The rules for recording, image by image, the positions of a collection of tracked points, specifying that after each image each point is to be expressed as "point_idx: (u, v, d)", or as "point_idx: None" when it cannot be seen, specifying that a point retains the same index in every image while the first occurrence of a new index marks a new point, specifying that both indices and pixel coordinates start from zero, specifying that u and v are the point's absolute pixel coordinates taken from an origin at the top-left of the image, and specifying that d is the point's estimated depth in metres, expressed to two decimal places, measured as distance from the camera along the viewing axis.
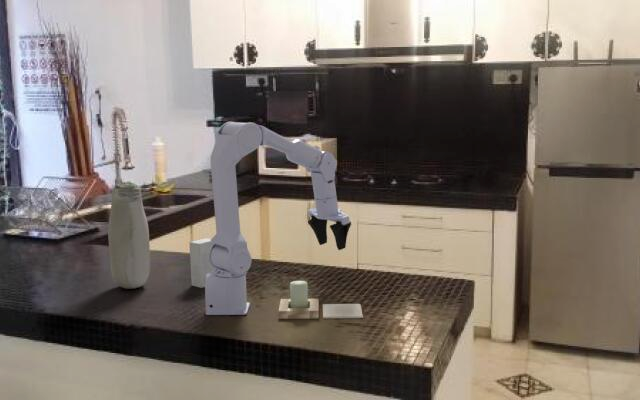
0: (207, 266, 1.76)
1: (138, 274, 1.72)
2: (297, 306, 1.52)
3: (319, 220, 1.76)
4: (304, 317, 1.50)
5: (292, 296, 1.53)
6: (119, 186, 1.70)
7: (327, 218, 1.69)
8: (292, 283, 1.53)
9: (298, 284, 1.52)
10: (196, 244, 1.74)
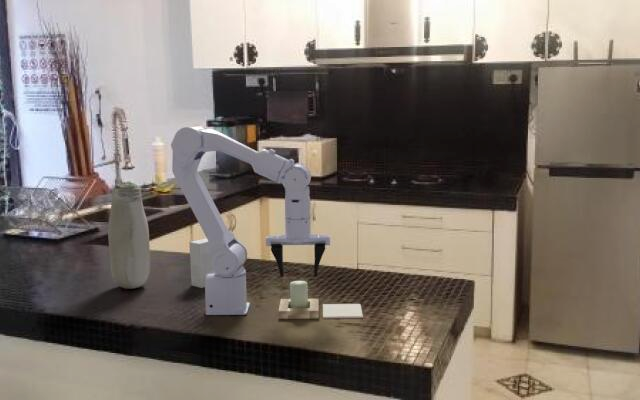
0: (207, 266, 1.76)
1: (138, 274, 1.72)
2: (297, 306, 1.52)
3: None
4: (304, 317, 1.50)
5: (292, 296, 1.53)
6: (119, 186, 1.70)
7: None
8: (292, 283, 1.53)
9: (298, 284, 1.52)
10: (196, 244, 1.74)
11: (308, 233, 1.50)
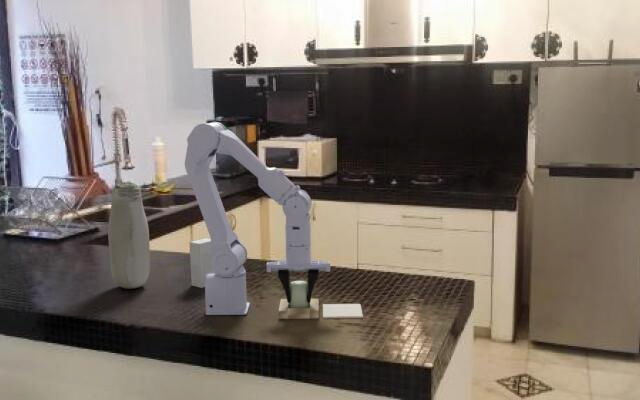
0: (207, 266, 1.76)
1: (138, 274, 1.72)
2: (297, 306, 1.52)
3: (308, 273, 1.53)
4: (304, 317, 1.50)
5: (292, 296, 1.53)
6: (119, 186, 1.70)
7: None
8: (292, 283, 1.53)
9: (298, 284, 1.52)
10: (196, 244, 1.74)
11: (308, 259, 1.51)
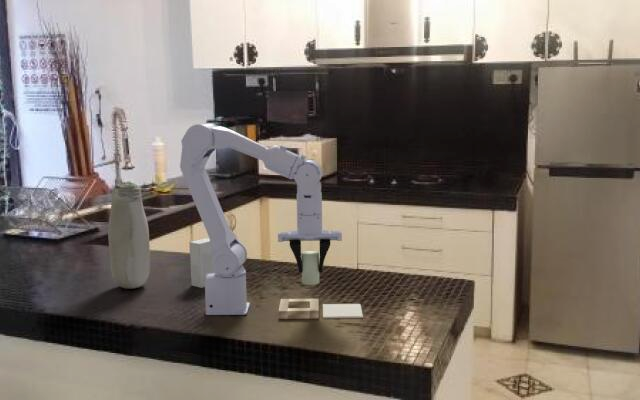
0: (207, 266, 1.76)
1: (138, 274, 1.72)
2: (309, 276, 1.51)
3: None
4: (304, 317, 1.50)
5: (303, 266, 1.51)
6: (119, 186, 1.70)
7: None
8: (303, 253, 1.52)
9: (309, 254, 1.51)
10: (196, 244, 1.74)
11: (320, 229, 1.50)
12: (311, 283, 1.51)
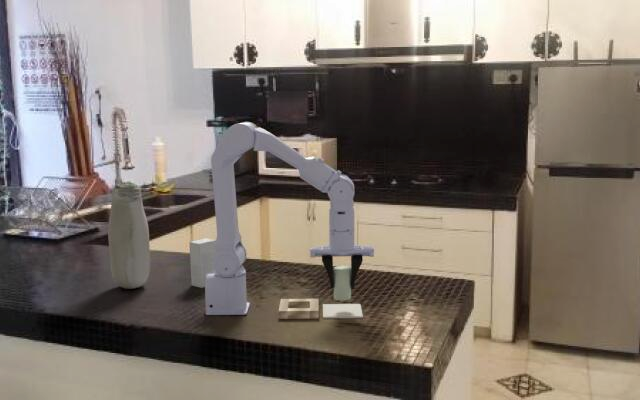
0: (207, 266, 1.76)
1: (138, 274, 1.72)
2: (341, 291, 1.52)
3: (351, 258, 1.53)
4: (304, 317, 1.50)
5: (336, 281, 1.52)
6: (119, 186, 1.70)
7: None
8: (335, 268, 1.53)
9: (342, 269, 1.52)
10: (196, 244, 1.74)
11: (352, 245, 1.51)
12: (343, 298, 1.52)
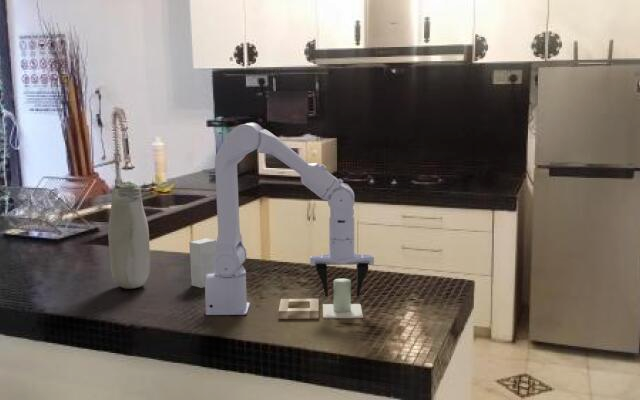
0: (207, 266, 1.76)
1: (138, 274, 1.72)
2: (341, 304, 1.52)
3: (357, 266, 1.53)
4: (304, 317, 1.50)
5: (336, 294, 1.53)
6: (119, 186, 1.70)
7: None
8: (335, 281, 1.53)
9: (342, 282, 1.52)
10: (196, 244, 1.74)
11: (352, 253, 1.51)
12: (343, 311, 1.52)
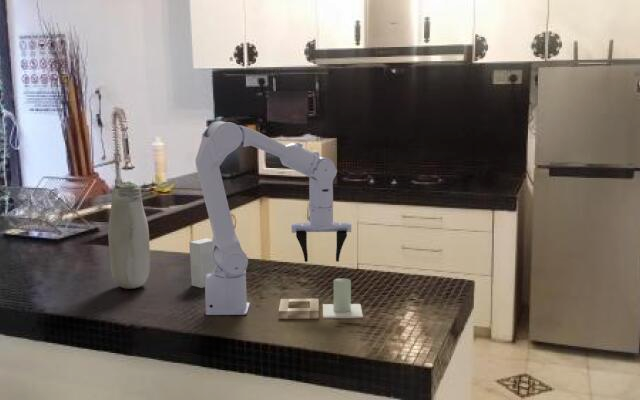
0: (207, 266, 1.76)
1: (138, 274, 1.72)
2: (341, 303, 1.52)
3: None
4: (304, 317, 1.50)
5: (336, 293, 1.53)
6: (119, 186, 1.70)
7: None
8: (335, 280, 1.53)
9: (342, 281, 1.52)
10: (196, 244, 1.74)
11: (331, 221, 1.61)
12: (343, 311, 1.52)
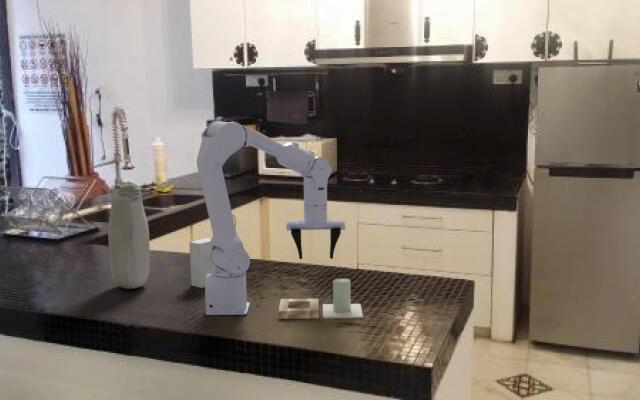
0: (207, 266, 1.76)
1: (138, 274, 1.72)
2: (340, 304, 1.52)
3: (330, 231, 1.66)
4: (304, 317, 1.50)
5: (335, 294, 1.52)
6: (119, 186, 1.70)
7: None
8: (335, 281, 1.53)
9: (341, 282, 1.52)
10: (196, 244, 1.74)
11: (325, 219, 1.64)
12: (343, 311, 1.52)
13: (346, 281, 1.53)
